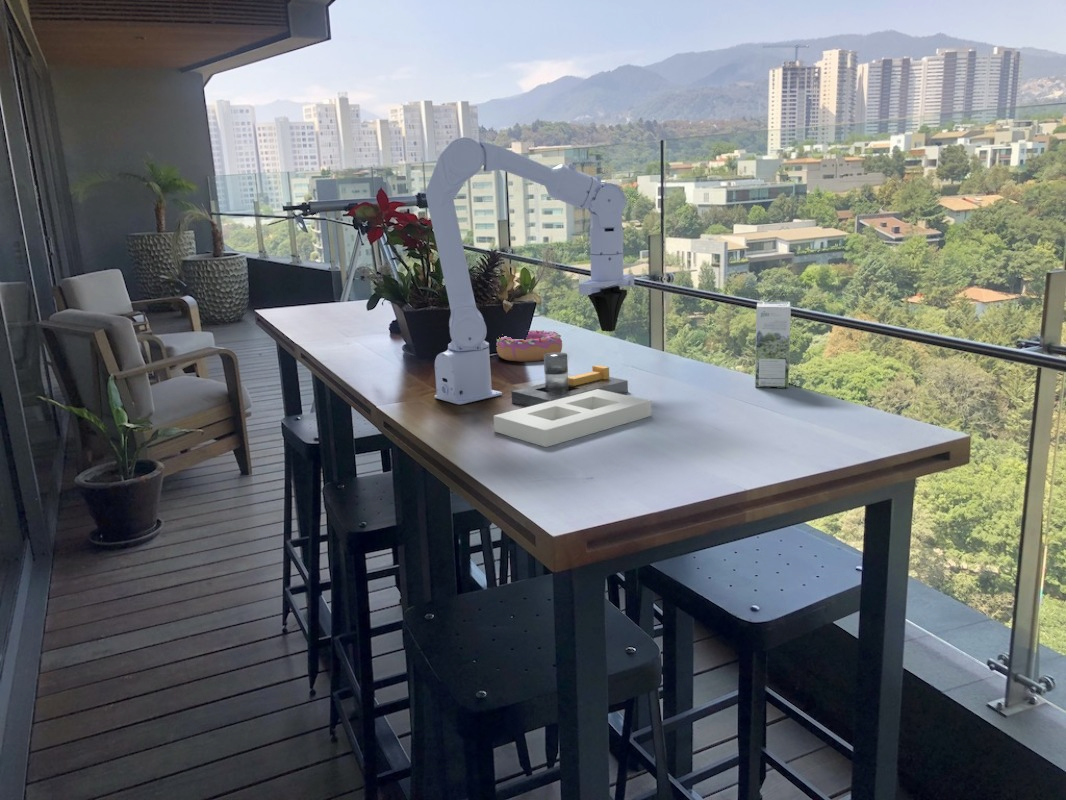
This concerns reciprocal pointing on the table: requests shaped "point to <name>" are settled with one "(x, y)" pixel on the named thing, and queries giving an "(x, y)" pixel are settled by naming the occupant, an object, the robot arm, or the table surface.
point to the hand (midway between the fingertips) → (608, 330)
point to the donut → (529, 346)
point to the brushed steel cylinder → (556, 373)
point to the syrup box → (772, 344)
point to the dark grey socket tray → (538, 394)
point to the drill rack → (571, 417)
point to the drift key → (590, 376)
